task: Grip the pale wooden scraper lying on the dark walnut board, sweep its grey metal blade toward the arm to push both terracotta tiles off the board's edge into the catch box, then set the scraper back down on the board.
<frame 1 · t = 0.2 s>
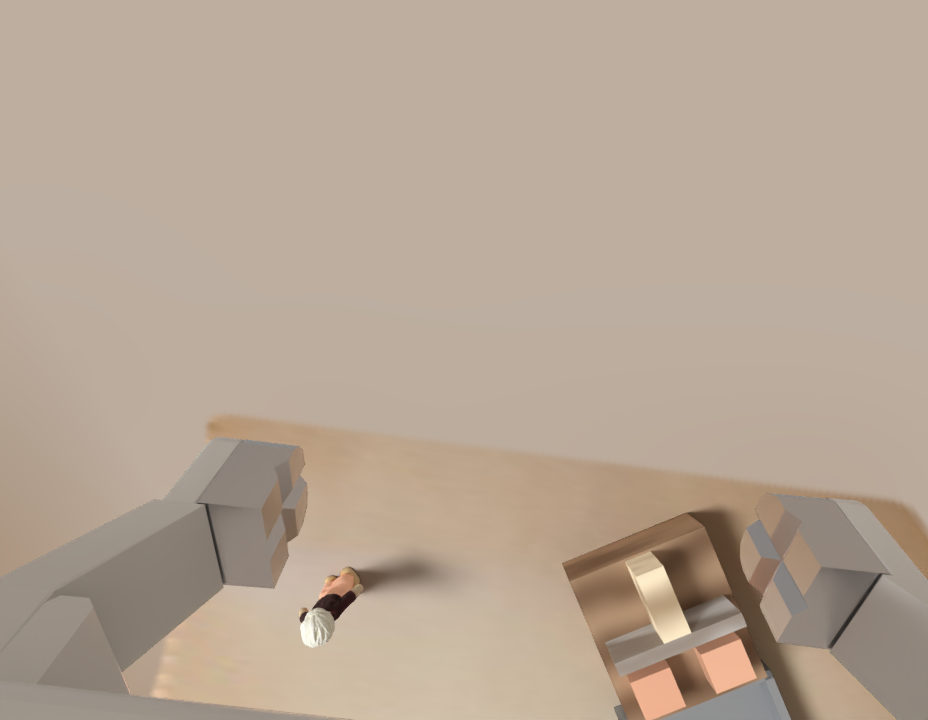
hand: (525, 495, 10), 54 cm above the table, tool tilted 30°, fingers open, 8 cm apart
scraper: (666, 624, 58), point 5 cm above the table, touching walnut board
terracotta tile 1: (717, 652, 58), point 5 cm above the table, touching walnut board
walnut board: (653, 607, 63), on the table
grandmother figurine: (345, 580, 64), on the table
terracotta tile 2: (650, 680, 59), point 5 cm above the table, touching walnut board
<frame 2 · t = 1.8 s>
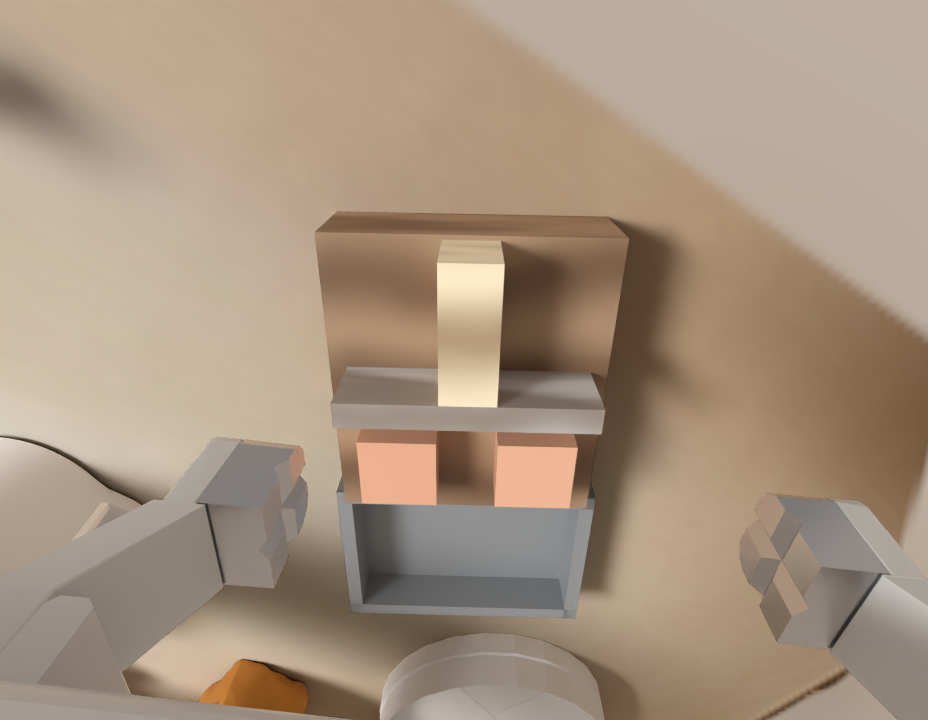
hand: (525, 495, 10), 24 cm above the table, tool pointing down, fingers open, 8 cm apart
dish: (490, 698, 54), on the table
catch box: (465, 525, 43), on the table
coffee package: (256, 694, 54), on the table
scraper: (468, 380, 31), point 5 cm above the table, touching walnut board
terracotta tile 1: (530, 451, 33), point 5 cm above the table, touching walnut board
walnut board: (468, 350, 36), on the table
terracotta tile 2: (402, 448, 33), point 5 cm above the table, touching walnut board
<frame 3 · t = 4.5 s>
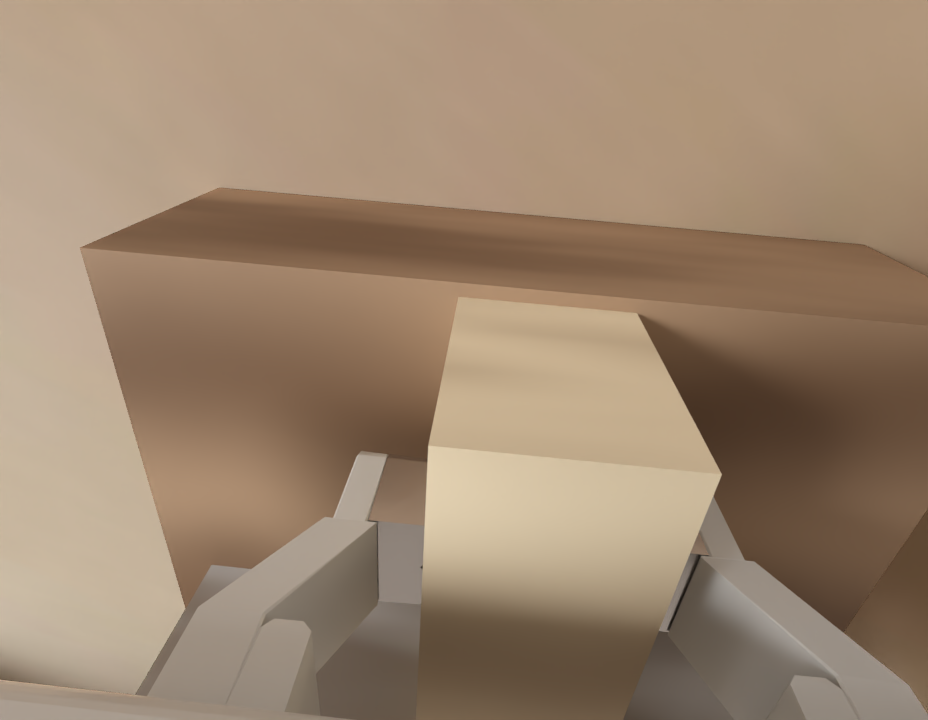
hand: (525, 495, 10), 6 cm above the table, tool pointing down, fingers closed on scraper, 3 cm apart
scraper: (498, 615, 13), point 5 cm above the table, touching gripper, walnut board
walnut board: (499, 488, 18), on the table
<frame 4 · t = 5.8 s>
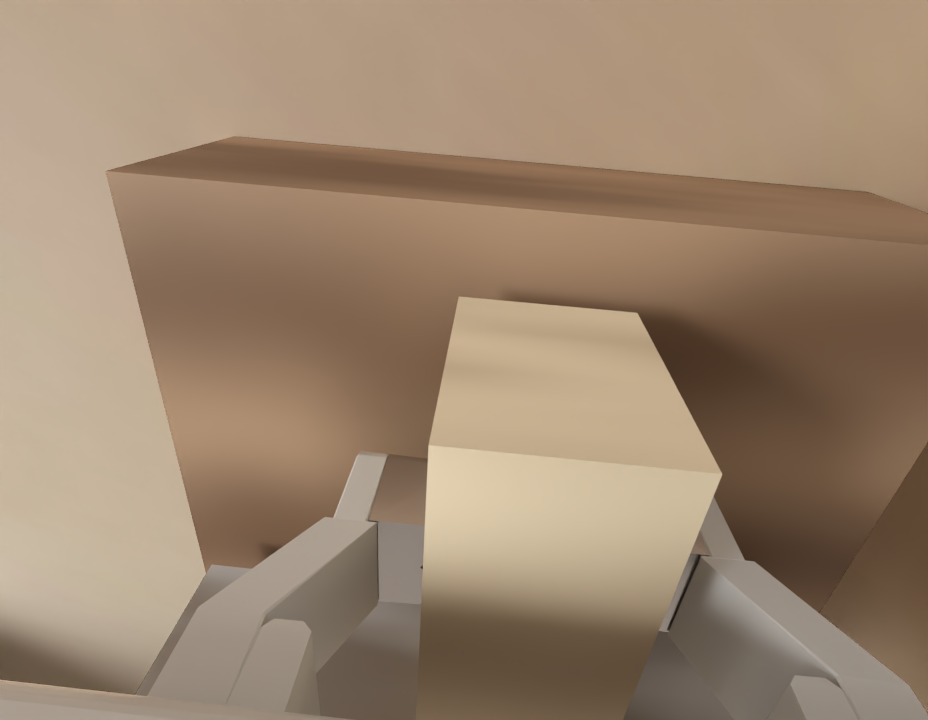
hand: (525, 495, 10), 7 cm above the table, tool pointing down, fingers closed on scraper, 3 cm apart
scraper: (498, 615, 13), point 6 cm above the table, touching gripper
walnut board: (506, 445, 18), on the table
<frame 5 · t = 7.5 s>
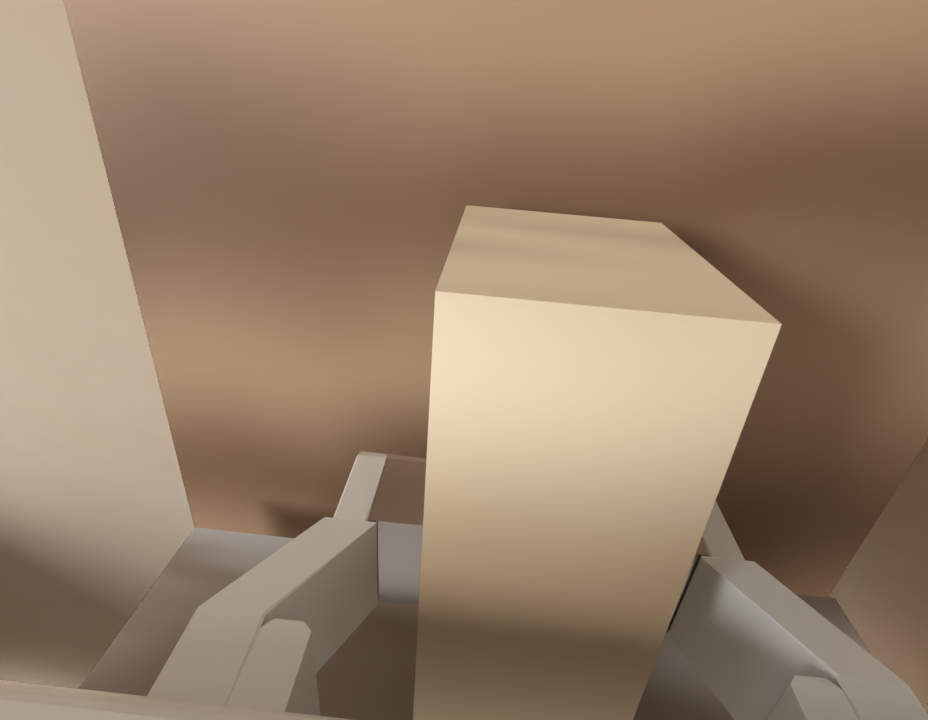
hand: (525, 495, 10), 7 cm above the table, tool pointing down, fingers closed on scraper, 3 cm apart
scraper: (504, 586, 12), point 6 cm above the table, touching gripper
walnut board: (543, 176, 14), on the table
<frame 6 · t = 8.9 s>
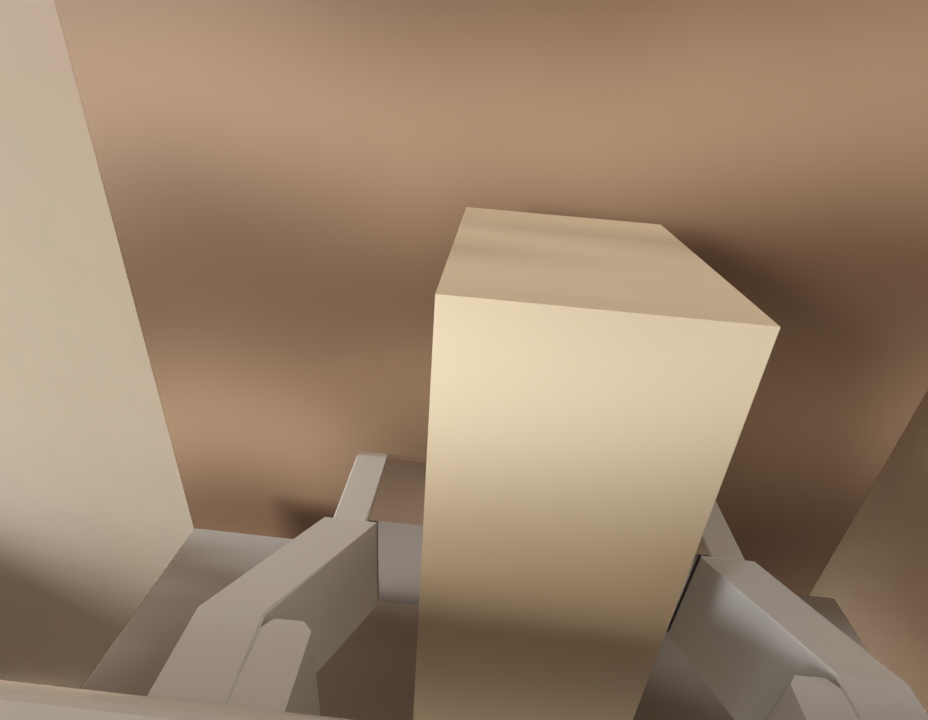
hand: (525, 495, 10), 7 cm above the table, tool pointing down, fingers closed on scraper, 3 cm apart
scraper: (504, 586, 12), point 7 cm above the table, touching gripper
walnut board: (523, 239, 15), on the table
when the fingers open (6 cm above the table, at t = 10.2 s): scraper stays where it is, resting on walnut board.
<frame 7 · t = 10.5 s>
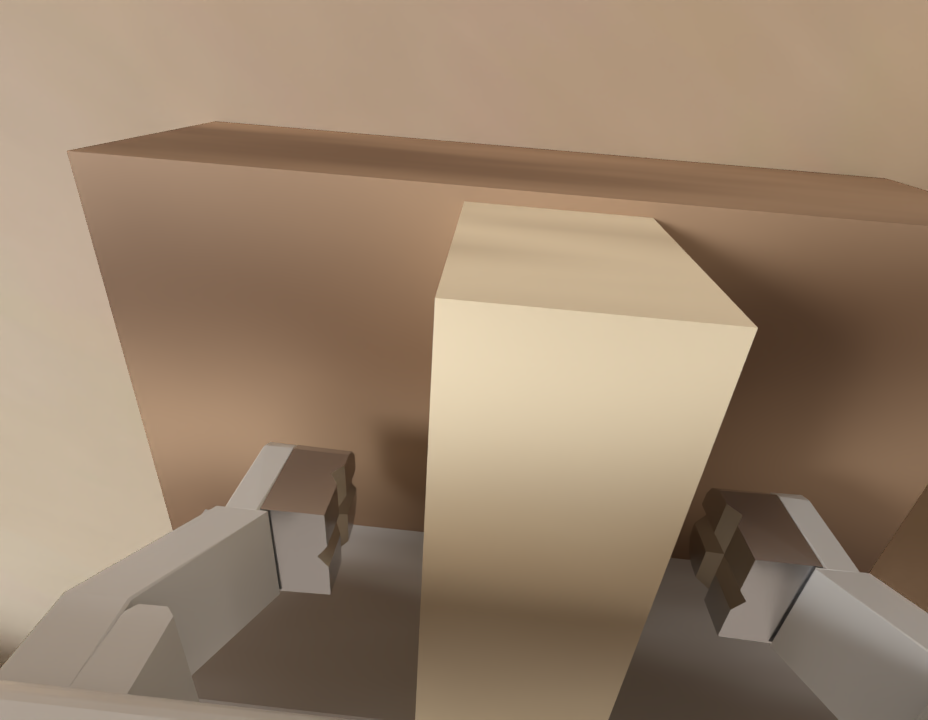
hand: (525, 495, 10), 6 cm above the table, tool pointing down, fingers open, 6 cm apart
scraper: (502, 563, 12), point 5 cm above the table, touching walnut board
walnut board: (504, 446, 17), on the table
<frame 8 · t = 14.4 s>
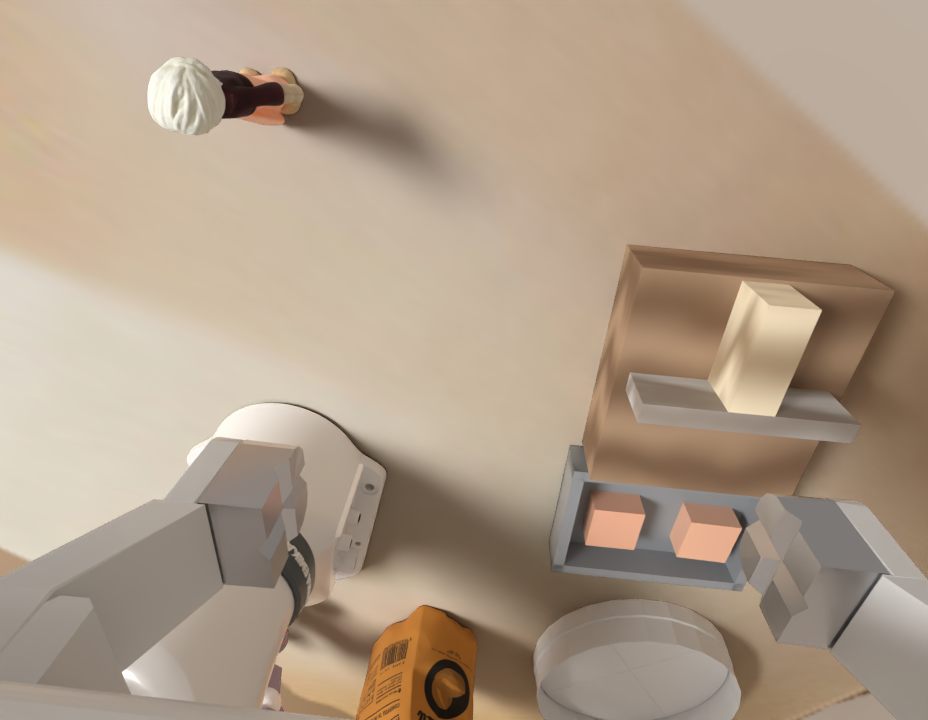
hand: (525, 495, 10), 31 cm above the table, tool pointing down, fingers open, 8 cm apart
dish: (627, 656, 63), on the table
catch box: (653, 506, 50), on the table
coffee package: (425, 636, 63), on the table
scraper: (725, 390, 38), point 5 cm above the table, touching walnut board
terracotta tile 1: (708, 543, 48), point 3 cm above the table, tilted 180°, touching catch box
toy sheep: (268, 600, 62), on the table
walnut board: (701, 362, 43), on the table
grandmother figurine: (276, 92, 35), on the table
terracotta tile 2: (614, 530, 48), point 3 cm above the table, tilted 180°, touching catch box
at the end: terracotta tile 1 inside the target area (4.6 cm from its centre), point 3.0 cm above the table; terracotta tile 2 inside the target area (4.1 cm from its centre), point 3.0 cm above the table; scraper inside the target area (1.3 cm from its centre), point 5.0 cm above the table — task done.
